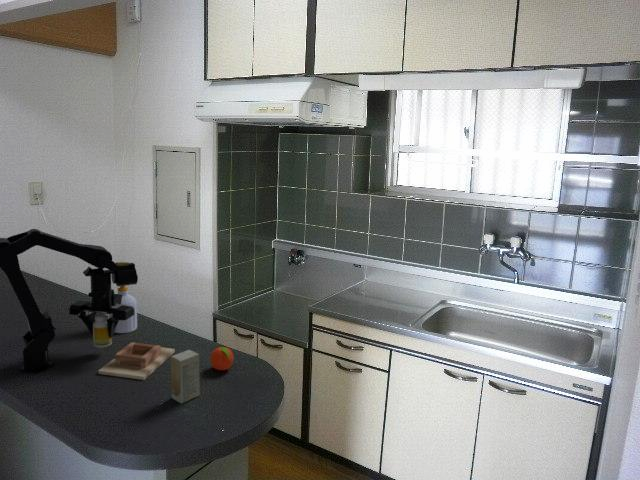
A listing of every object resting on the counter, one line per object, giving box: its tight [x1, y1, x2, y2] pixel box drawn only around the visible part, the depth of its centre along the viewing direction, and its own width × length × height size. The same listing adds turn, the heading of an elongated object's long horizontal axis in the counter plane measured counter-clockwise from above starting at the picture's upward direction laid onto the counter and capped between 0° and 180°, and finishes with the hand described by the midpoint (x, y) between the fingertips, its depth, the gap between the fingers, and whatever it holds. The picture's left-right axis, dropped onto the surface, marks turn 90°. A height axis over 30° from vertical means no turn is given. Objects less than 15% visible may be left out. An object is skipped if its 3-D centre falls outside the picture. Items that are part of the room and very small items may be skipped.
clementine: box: [209, 346, 234, 371], centre depth 156 cm, size 8×7×7 cm
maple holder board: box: [97, 341, 176, 381], centre depth 159 cm, size 20×14×4 cm
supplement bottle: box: [92, 313, 113, 348], centre depth 161 cm, size 5×5×10 cm
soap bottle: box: [109, 261, 138, 334], centre depth 181 cm, size 9×9×25 cm
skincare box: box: [170, 349, 200, 404], centre depth 139 cm, size 6×4×12 cm
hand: (102, 336), depth 162 cm, fingers closed on supplement bottle, 5 cm apart
